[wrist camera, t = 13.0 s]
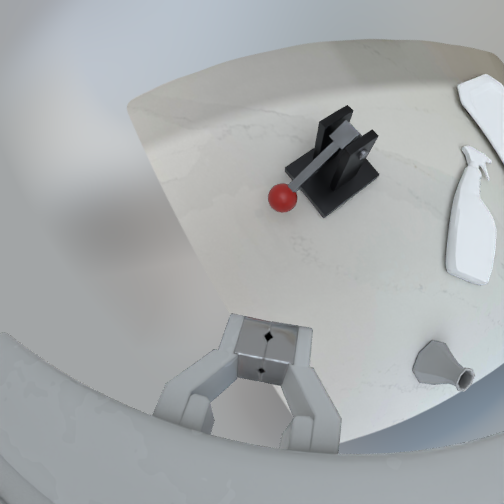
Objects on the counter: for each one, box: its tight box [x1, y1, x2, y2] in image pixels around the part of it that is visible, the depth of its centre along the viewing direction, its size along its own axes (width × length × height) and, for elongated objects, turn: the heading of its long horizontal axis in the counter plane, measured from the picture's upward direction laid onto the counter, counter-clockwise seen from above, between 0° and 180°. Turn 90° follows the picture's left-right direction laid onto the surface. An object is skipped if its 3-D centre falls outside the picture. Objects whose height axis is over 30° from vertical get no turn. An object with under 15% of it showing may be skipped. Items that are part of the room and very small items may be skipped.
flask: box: [413, 340, 475, 391], centre depth 28 cm, size 7×7×10 cm
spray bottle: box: [446, 146, 496, 285], centre depth 33 cm, size 3×11×24 cm
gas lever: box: [268, 120, 362, 212], centre depth 30 cm, size 14×4×4 cm
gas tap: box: [285, 105, 379, 218], centre depth 32 cm, size 11×9×13 cm
